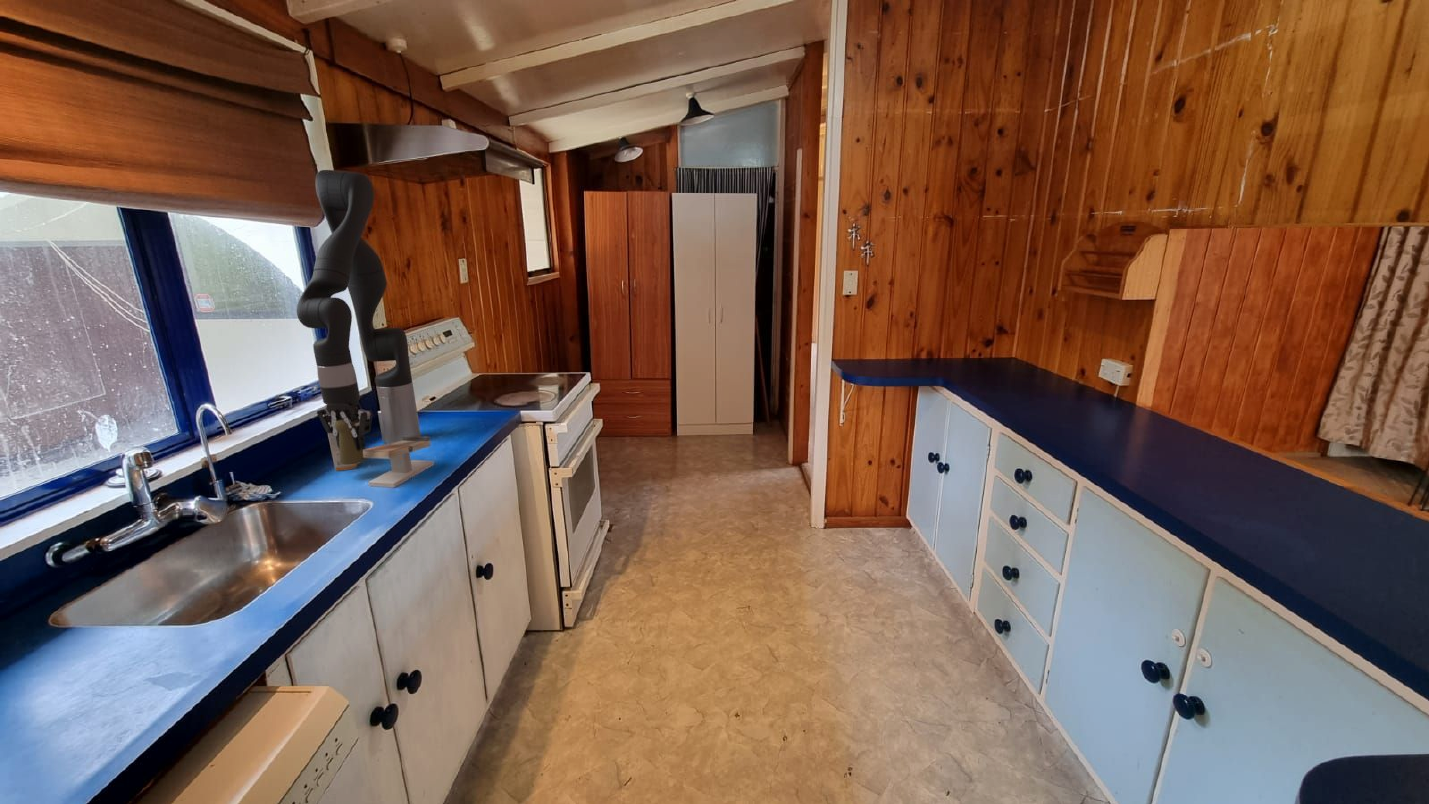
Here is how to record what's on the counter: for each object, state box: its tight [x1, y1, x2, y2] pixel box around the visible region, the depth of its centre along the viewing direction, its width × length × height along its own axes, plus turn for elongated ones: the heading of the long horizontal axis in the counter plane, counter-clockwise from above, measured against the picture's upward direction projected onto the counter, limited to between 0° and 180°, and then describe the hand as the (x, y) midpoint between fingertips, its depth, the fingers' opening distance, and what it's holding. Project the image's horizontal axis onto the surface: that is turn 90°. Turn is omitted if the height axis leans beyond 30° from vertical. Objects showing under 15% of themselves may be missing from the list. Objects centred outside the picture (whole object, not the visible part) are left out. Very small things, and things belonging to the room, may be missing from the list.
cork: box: [335, 419, 369, 465], centre depth 139 cm, size 6×6×11 cm
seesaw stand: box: [367, 453, 435, 488], centre depth 141 cm, size 7×15×6 cm, turn 170°
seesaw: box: [363, 435, 432, 460], centre depth 140 cm, size 7×15×3 cm, turn 170°
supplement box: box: [327, 423, 359, 472], centre depth 148 cm, size 8×5×13 cm, turn 22°
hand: (352, 449), depth 140 cm, fingers closed on cork, 4 cm apart
